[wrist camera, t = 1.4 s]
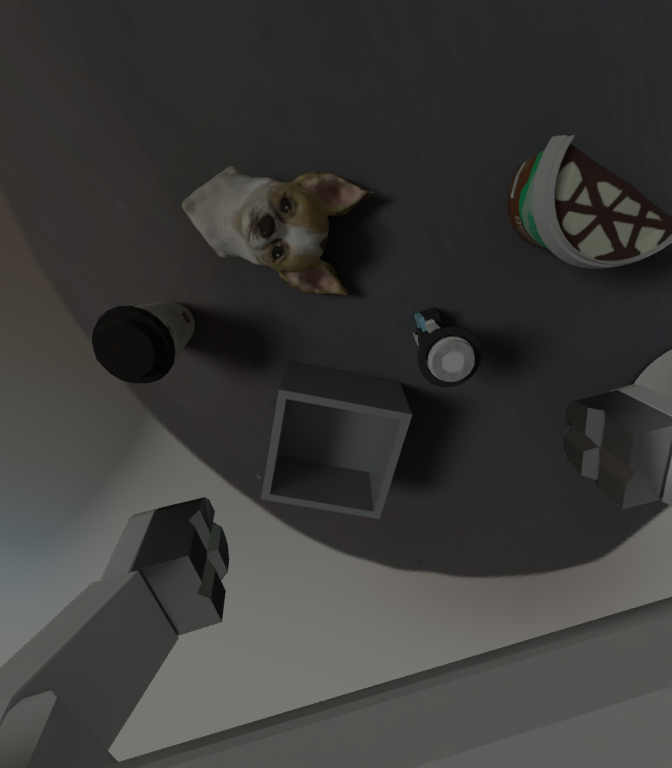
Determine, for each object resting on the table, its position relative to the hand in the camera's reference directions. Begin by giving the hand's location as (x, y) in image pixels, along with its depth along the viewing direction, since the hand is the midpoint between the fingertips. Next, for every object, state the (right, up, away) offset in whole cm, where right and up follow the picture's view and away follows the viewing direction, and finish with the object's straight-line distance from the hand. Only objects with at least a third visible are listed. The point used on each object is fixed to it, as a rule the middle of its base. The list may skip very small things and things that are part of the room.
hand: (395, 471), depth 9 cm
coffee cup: (-19, +9, +33) cm, 39 cm away
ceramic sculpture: (-6, +17, +29) cm, 34 cm away
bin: (-2, -2, +37) cm, 37 cm away
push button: (+9, +7, +33) cm, 35 cm away
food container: (+18, +18, +29) cm, 38 cm away
